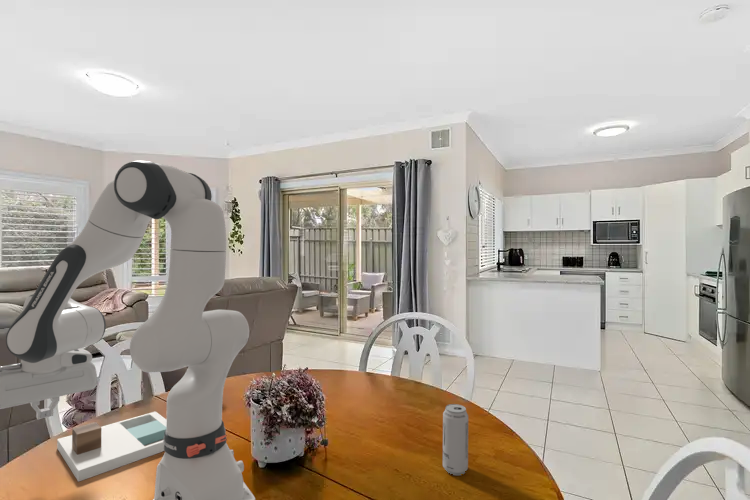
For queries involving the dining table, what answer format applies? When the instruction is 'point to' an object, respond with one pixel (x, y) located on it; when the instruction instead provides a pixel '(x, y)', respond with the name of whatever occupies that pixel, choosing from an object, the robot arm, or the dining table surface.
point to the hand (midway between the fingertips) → (44, 417)
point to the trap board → (117, 445)
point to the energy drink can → (455, 439)
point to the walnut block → (86, 438)
